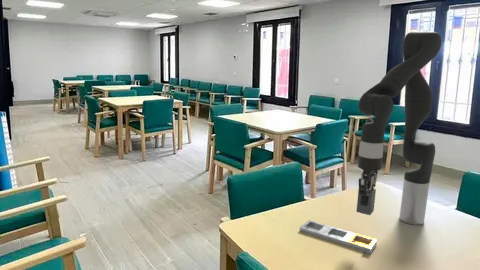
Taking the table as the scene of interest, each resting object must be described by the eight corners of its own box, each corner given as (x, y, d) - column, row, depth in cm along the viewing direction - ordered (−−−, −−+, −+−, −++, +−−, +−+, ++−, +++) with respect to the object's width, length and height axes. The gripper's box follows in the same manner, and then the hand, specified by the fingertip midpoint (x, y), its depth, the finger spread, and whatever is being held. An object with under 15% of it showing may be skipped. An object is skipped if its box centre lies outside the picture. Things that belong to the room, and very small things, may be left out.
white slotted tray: (308, 224, 143) (308, 219, 142) (376, 245, 128) (377, 239, 128) (299, 232, 136) (299, 227, 136) (369, 254, 122) (370, 248, 121)
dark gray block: (360, 207, 127) (362, 184, 126) (373, 210, 125) (376, 187, 123) (356, 211, 124) (358, 188, 122) (369, 215, 121) (372, 191, 119)
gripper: (376, 161, 112) (371, 212, 116) (387, 151, 124) (382, 199, 127) (352, 157, 116) (348, 206, 120) (365, 148, 128) (361, 194, 132)
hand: (365, 202), depth 124 cm, fingers closed on dark gray block, 4 cm apart
